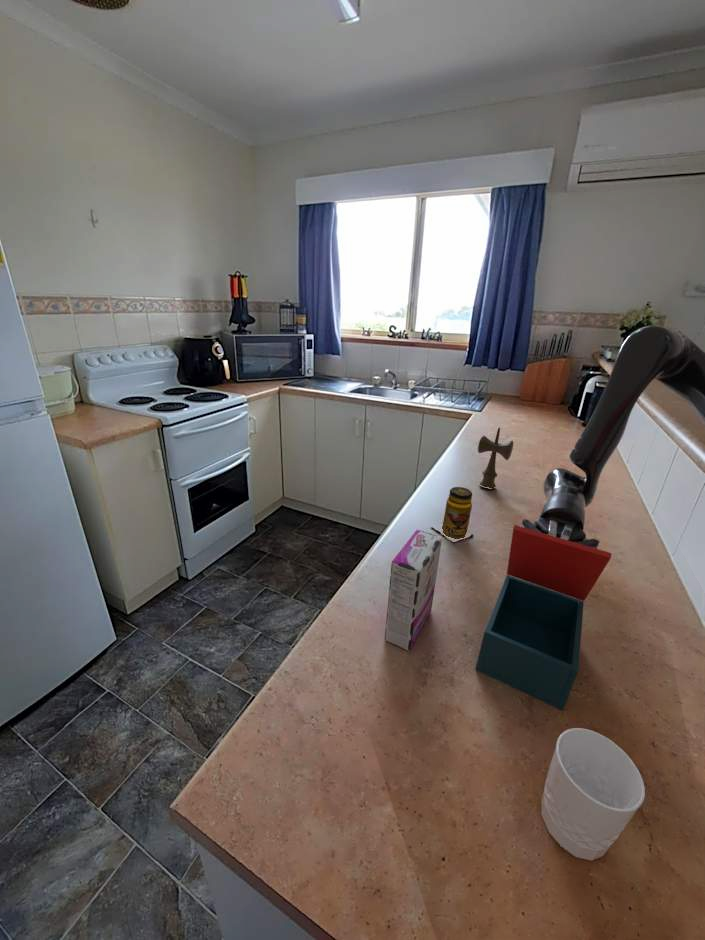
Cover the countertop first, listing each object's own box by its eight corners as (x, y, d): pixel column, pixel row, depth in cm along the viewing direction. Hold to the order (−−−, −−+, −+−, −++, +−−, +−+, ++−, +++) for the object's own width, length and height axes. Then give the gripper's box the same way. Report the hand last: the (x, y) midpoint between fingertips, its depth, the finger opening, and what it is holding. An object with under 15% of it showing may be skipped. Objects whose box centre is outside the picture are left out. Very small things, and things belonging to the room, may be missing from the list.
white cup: (571, 880, 40) (600, 823, 36) (519, 793, 47) (540, 737, 43) (631, 854, 42) (665, 797, 38) (573, 775, 49) (597, 720, 45)
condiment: (453, 543, 95) (461, 499, 91) (429, 527, 102) (436, 485, 97) (474, 536, 99) (483, 493, 94) (450, 520, 106) (457, 480, 101)
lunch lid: (610, 558, 53) (611, 553, 54) (513, 529, 59) (514, 524, 59) (584, 601, 67) (585, 597, 67) (506, 574, 72) (507, 570, 73)
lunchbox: (563, 711, 57) (578, 671, 54) (475, 669, 62) (484, 631, 59) (571, 636, 70) (583, 601, 67) (498, 607, 76) (506, 574, 73)
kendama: (500, 494, 122) (514, 432, 115) (469, 486, 127) (480, 426, 119) (504, 488, 127) (518, 428, 119) (474, 480, 132) (485, 422, 124)
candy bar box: (406, 601, 76) (416, 527, 69) (431, 612, 74) (444, 536, 67) (381, 640, 67) (390, 559, 60) (409, 653, 65) (421, 571, 58)
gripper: (530, 490, 79) (513, 527, 65) (607, 509, 73) (606, 555, 59) (522, 523, 82) (504, 565, 68) (595, 544, 76) (592, 595, 62)
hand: (552, 560), depth 63 cm, fingers closed
